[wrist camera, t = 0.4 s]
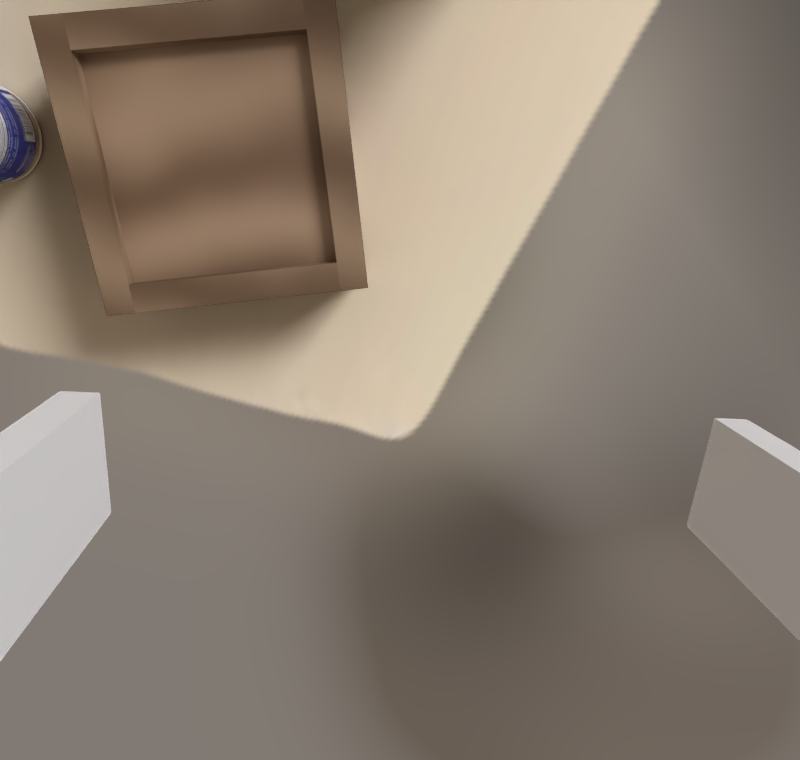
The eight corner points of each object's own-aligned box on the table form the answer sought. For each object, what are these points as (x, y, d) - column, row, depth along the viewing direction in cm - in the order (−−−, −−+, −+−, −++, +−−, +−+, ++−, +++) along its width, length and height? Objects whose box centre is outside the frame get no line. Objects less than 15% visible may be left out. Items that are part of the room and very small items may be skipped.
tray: (84, 46, 32) (28, 16, 26) (337, 23, 32) (333, -11, 27) (144, 297, 36) (107, 316, 31) (365, 273, 37) (367, 287, 31)
